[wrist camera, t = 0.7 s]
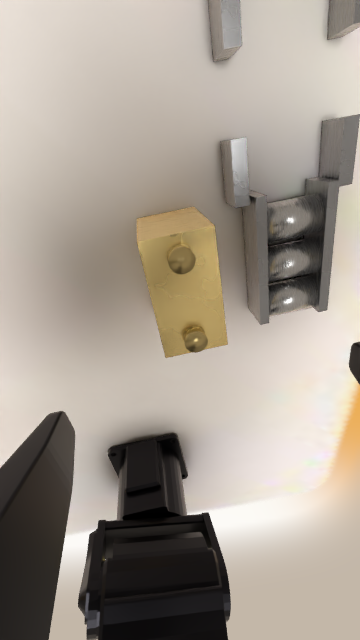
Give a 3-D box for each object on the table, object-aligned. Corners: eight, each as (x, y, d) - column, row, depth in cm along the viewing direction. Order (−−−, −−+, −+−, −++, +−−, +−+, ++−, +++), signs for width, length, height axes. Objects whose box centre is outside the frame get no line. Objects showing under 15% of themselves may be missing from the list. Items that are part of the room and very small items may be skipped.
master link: (206, 301, 21) (231, 351, 16) (159, 311, 21) (166, 365, 15) (193, 206, 18) (218, 229, 12) (136, 218, 18) (136, 246, 12)
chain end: (321, 293, 22) (341, 308, 20) (235, 312, 22) (245, 329, 19) (336, 118, 16) (365, 113, 14) (220, 141, 16) (232, 139, 14)
